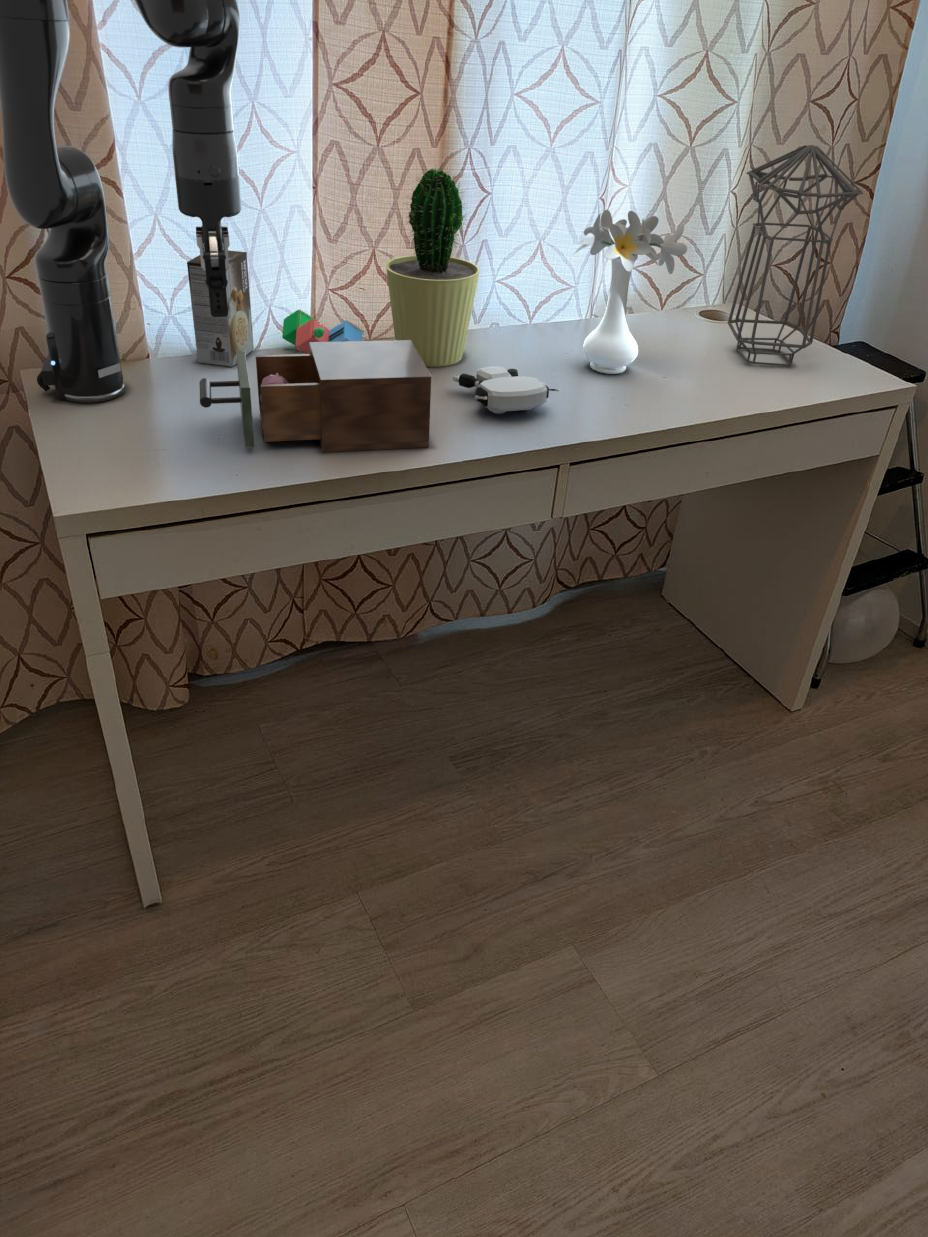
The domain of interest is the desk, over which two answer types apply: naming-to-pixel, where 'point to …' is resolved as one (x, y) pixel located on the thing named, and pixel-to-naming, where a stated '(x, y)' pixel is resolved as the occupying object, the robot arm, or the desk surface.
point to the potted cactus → (433, 275)
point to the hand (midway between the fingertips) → (219, 314)
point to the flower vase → (623, 283)
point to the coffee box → (222, 333)
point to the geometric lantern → (847, 192)
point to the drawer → (276, 397)
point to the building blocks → (316, 331)
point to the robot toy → (505, 389)
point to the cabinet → (372, 395)
